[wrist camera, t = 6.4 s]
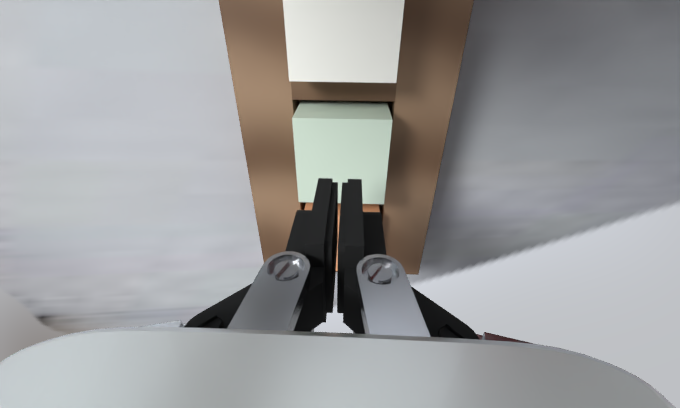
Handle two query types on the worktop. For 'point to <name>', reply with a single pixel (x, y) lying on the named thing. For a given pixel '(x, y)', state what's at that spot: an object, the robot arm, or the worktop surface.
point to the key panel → (402, 98)
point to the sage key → (342, 146)
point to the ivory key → (343, 40)
